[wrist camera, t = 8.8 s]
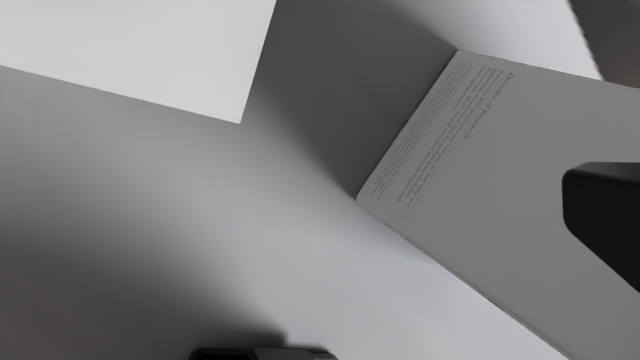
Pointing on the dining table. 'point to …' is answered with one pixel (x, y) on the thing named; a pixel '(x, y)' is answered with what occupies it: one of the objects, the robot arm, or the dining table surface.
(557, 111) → the supplement box
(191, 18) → the pale grey box
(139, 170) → the dining table surface
